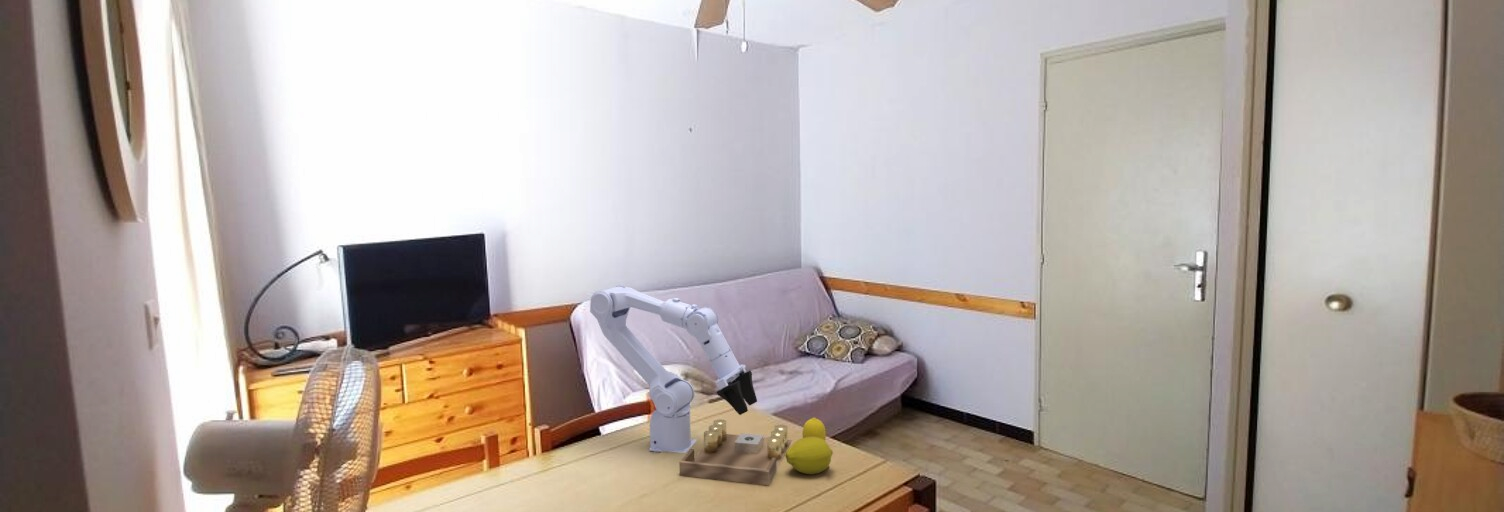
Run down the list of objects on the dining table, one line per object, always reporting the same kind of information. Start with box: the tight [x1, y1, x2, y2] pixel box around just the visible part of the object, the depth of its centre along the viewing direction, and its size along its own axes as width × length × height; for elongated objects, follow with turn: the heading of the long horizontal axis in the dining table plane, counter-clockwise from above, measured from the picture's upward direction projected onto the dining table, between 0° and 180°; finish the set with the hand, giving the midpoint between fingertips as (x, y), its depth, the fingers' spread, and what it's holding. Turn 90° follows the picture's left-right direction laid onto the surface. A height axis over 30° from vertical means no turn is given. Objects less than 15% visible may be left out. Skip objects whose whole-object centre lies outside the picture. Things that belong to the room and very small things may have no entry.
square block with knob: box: [735, 432, 765, 454], centre depth 149 cm, size 6×6×2 cm
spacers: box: [703, 418, 789, 460], centre depth 149 cm, size 19×10×4 cm, turn 75°
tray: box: [678, 433, 793, 487], centre depth 145 cm, size 20×24×4 cm
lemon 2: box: [784, 437, 833, 475], centre depth 137 cm, size 11×8×8 cm
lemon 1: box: [802, 417, 827, 442], centre depth 149 cm, size 6×6×8 cm
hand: (748, 408), depth 144 cm, fingers open, 7 cm apart
